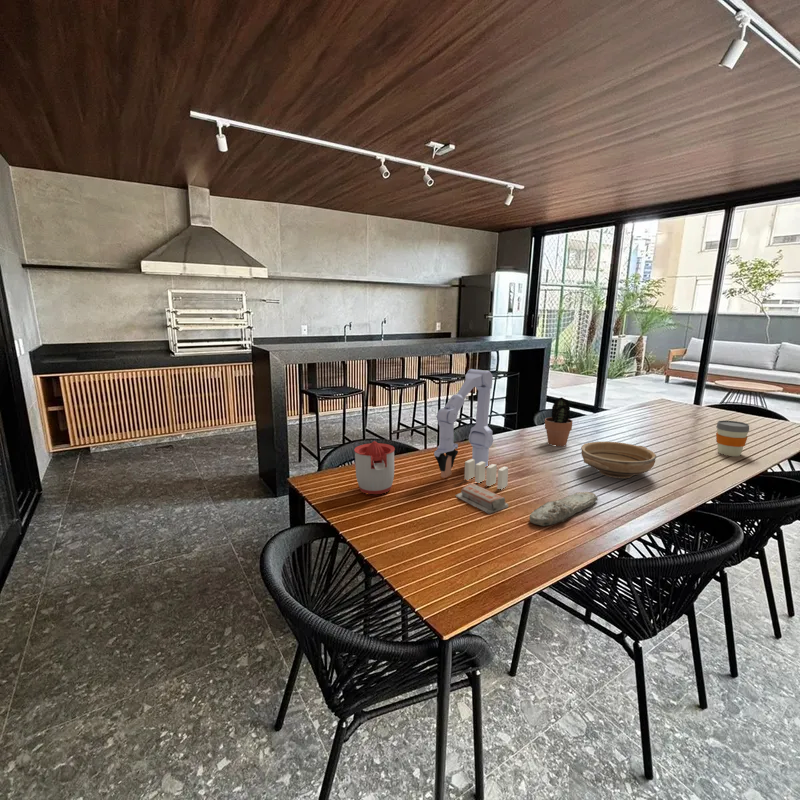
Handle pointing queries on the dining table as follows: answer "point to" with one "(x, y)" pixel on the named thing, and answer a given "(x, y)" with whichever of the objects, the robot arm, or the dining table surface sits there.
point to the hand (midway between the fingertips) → (446, 468)
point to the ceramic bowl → (618, 458)
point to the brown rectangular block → (447, 468)
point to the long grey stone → (562, 508)
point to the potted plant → (559, 423)
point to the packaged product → (482, 498)
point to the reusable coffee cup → (731, 437)
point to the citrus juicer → (374, 467)
